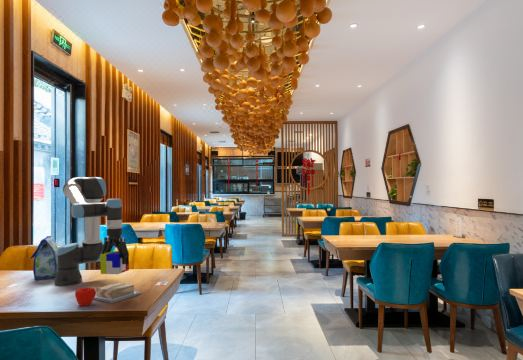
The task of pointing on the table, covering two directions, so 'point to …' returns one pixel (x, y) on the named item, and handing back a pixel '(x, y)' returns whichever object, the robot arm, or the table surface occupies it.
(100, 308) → the table surface
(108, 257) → the puzzle toy
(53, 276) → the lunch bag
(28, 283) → the table surface
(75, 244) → the robot arm
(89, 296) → the apple
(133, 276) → the table surface
